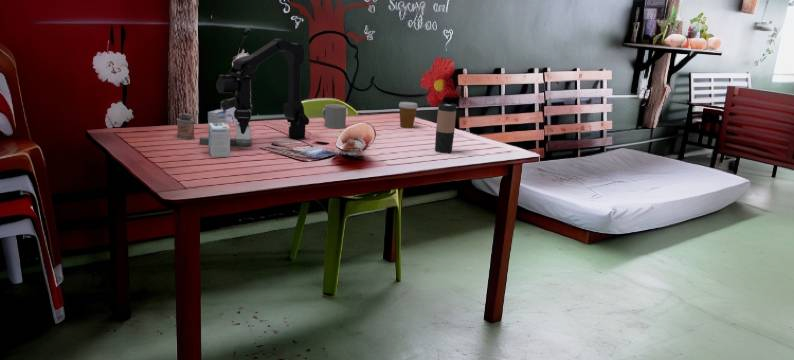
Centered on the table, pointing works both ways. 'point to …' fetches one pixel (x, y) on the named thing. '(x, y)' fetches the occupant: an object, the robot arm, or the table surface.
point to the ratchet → (232, 142)
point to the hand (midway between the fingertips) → (243, 131)
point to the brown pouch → (185, 126)
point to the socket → (246, 135)
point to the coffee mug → (334, 116)
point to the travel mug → (445, 127)
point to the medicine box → (216, 117)
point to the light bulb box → (219, 140)
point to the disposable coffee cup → (407, 114)
